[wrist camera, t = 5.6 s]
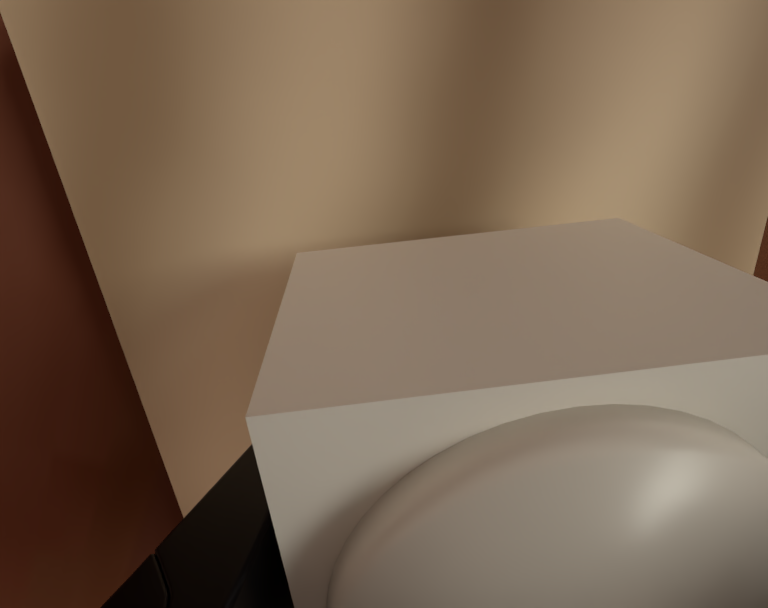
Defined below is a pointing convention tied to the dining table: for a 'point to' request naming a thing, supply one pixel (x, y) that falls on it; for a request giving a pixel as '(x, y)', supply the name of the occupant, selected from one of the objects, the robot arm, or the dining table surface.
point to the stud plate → (369, 154)
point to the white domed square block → (518, 423)
